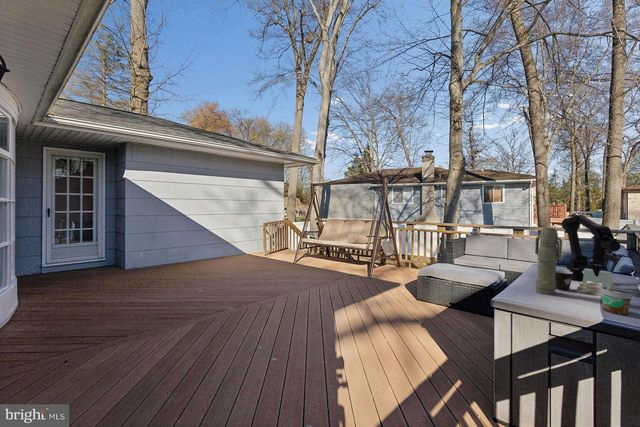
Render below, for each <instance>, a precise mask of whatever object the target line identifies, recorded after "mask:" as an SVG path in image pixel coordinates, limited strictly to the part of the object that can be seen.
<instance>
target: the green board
mask: <svg viewBox="0 0 640 427" xmlns="http://www.w3.org/2000/svg"><path fill="white" fill-rule="evenodd" d="M583 273H584V277H583V280H582V284H586V282H587V281H592V282H598V283H603V286H602V287H607V288H611V283H613V282H612V281H613V280H612V279H613V272H612V271H606V270H601V271H600V272H599V275H598V277H597V276H595V274H594V272H593V269H592V268H587V269H584V271H583ZM611 289H612V288H611Z"/></svg>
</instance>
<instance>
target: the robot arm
mask: <svg viewBox="0 0 640 427" xmlns="http://www.w3.org/2000/svg"><path fill="white" fill-rule="evenodd" d="M561 225H562V228H563V230H564V231H565V232H566V233H567V236H568V242H569V246H570V252H571V256H570V258H569V262H568V263H567V264H566V266H565V267H566V270H567V271H570V272H573V275H572V279H571V281H576V282H583V277H584V269H588V267H589V265H590V267H591V269H592V270H593V272H594V274H595V276H597V277H598V275H599V272H600V271H602V268H604V267H605V266H606V263H607V262H608V261H610V262H612V263H614V264H617V263H618V261H619V260H620V257H619V256H618V254H617V253H615V252H618V251H619V250H621V247H622V246H621V243H620V242H619V241H618V239H617V238H615V235H614V234H613V232H612V231H611V229H610V227H609V226H607V225H604V224H599V223H596V222H595V221H593V220H591V219H589V218H588V217H586V216H585V215H583V214H575V215H573V216H570V217H567V218H563V220H562V221H561ZM581 225H582V226H583V227H584V228H587V229H588V230H589V233H591V235H593V236H592V237H590V239H591V240H593V244H592V245H593V246H592V251H591V252H592V256H591V259H590V260H588V257H587V256H586V255H583V253H582V248H581V243H580V239H579V233H578V231H579V228H580V226H581ZM608 251H610V252H613V253H609V252H608Z"/></svg>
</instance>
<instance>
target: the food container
mask: <svg viewBox="0 0 640 427" xmlns="http://www.w3.org/2000/svg"><path fill="white" fill-rule="evenodd" d="M600 292H601V293H602V296H601V297H602V310H603V311H605V312H607V313H610V314H612V315H618V316H628V314H629V310H630V304H631V300H633V295H632V294H631V293H623V292H621V291H618V290H614V289H613V290H610V289H607V287H602V289H601V291H600Z"/></svg>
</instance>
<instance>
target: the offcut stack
mask: <svg viewBox="0 0 640 427" xmlns="http://www.w3.org/2000/svg"><path fill="white" fill-rule="evenodd" d="M602 286H603V283H598V282H592V281H587V282H586V287H585V288H588V289H594V290H600V291H601V289H602Z"/></svg>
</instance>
